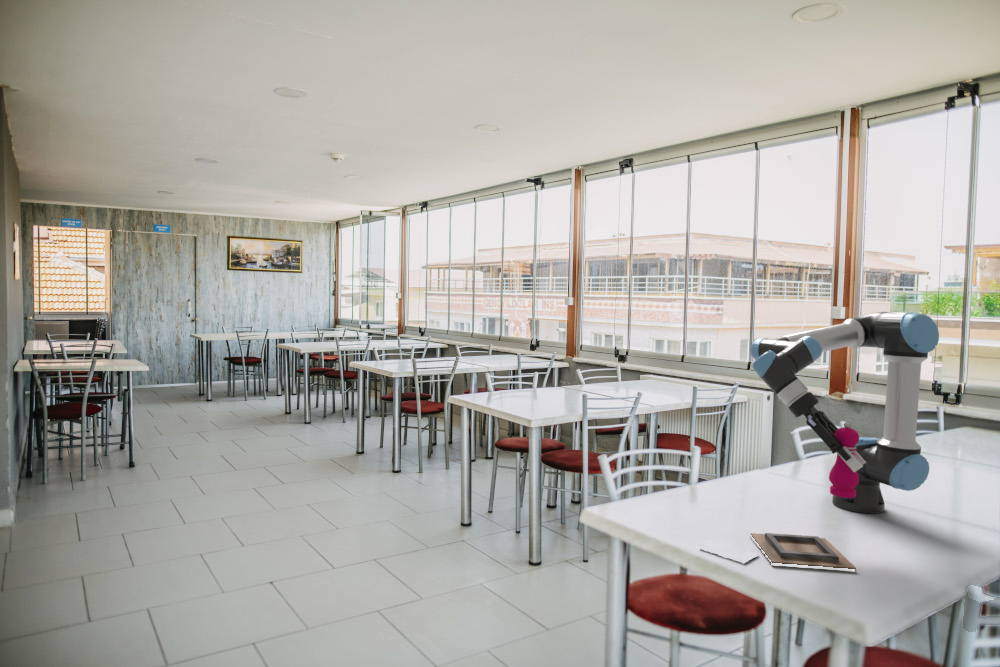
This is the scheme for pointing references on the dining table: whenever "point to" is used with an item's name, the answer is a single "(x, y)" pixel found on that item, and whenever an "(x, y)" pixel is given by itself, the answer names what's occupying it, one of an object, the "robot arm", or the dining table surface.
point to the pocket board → (801, 550)
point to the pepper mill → (844, 465)
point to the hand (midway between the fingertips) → (860, 467)
